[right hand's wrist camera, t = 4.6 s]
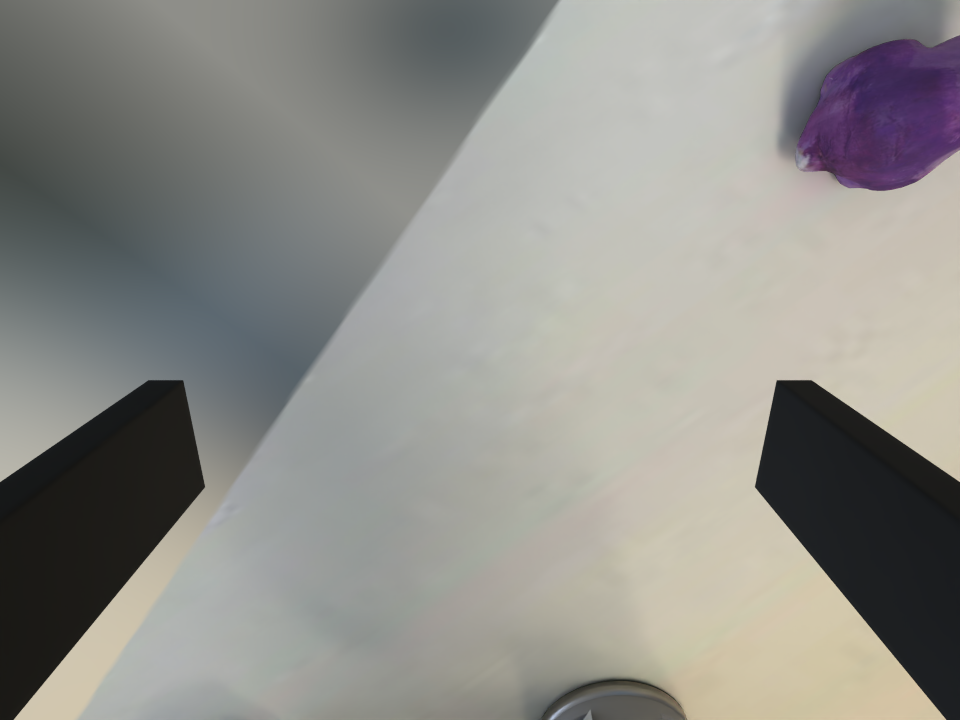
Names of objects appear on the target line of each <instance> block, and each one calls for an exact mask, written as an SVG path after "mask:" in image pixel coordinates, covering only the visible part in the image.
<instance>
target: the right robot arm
mask: <svg viewBox="0 0 960 720" xmlns="http://www.w3.org/2000/svg"><path fill="white" fill-rule="evenodd" d="M204 488H205V484H204V480H203V475H202V470H201V465H200V460H199V455H198V450H197V446H196V441H195V436H194V431H193V426H192V421H191V416H190V411H189V406H188V402H187V397H186V392H185V387H184V382H183V380H148V381H147V382H145V383H144V384H143V385H141V386H140V387H138V388H137V389H135V390H134V391H132V392H131V393H129V394H128V395H127V396H125V397H124V398H122V399H121V400H119V401H118V402H116V403H115V404H113V405H112V406H110V407H109V408H108V409H106V410H105V411H103V412H102V413H100V414H99V415H97V416H96V417H94V418H93V419H92V420H90V421H89V422H87V423H86V424H84V425H83V426H81V427H80V428H78V429H77V430H76V431H74V432H73V433H71V434H70V435H68V436H67V437H65V438H64V439H62V440H61V441H60V442H58V443H57V444H55V445H54V446H52V447H51V448H49V449H48V450H46V451H45V452H43V453H42V454H41V455H39V456H38V457H36V458H35V459H33V460H32V461H30V462H29V463H27V464H26V465H25V466H23V467H22V468H20V469H19V470H17V471H16V472H14V473H13V474H11V475H10V476H9V477H7V478H6V479H4V480H3V481H1V482H0V720H14V718H15V717H16V716H17V715H18V714H19V712H20V711H21V710H22V709H23V708H24V706H25V705H26V704H27V703H28V701H29V700H30V699H31V698H32V697H33V695H34V694H35V693H36V692H37V691H38V689H39V688H40V687H41V686H42V685H43V683H44V682H45V681H46V680H47V678H48V677H49V676H50V675H51V674H52V672H53V671H54V670H55V669H56V667H57V666H58V665H59V664H60V663H61V661H62V660H63V659H64V658H65V657H66V655H67V654H68V653H69V652H70V650H71V649H72V648H73V647H74V646H75V644H76V643H77V642H78V641H79V639H80V638H81V637H82V636H83V635H84V633H85V632H86V631H87V630H88V629H89V627H90V626H91V625H92V624H93V623H94V621H95V620H96V619H97V618H98V616H99V615H100V614H101V613H102V612H103V610H104V609H105V608H106V607H107V606H108V604H109V603H110V602H111V601H112V599H113V598H114V597H115V596H116V595H117V593H118V592H119V591H120V590H121V589H122V587H123V586H124V585H125V584H126V582H127V581H128V580H129V579H130V578H131V576H132V575H133V574H134V573H135V572H136V570H137V569H138V568H139V567H140V565H141V564H142V563H143V562H144V560H145V559H146V558H147V557H148V556H149V555H150V553H151V552H152V551H153V550H154V548H155V547H156V546H157V545H158V544H159V542H160V541H161V540H162V539H163V537H164V536H165V535H166V534H167V532H168V531H169V530H170V529H171V528H172V527H173V525H174V524H175V523H176V522H177V520H178V519H179V518H180V517H181V516H182V514H183V513H184V512H185V511H186V510H187V508H188V507H189V506H190V505H191V503H192V502H193V501H194V500H195V499H196V497H197V496H198V495H199V494H200V493H201V491H202V490H203V489H204ZM755 488H756V489H757V490H758V491H759V493H760V494H761V495H762V496H763V497H764V499H765V500H766V501H767V502H768V503H769V505H770V506H771V507H772V508H773V510H774V511H775V512H776V513H777V514H778V516H779V517H780V518H781V519H782V520H783V522H784V523H785V524H786V525H787V527H788V528H789V529H790V530H791V531H792V533H793V534H794V535H795V536H796V537H797V539H798V540H799V541H800V542H801V544H802V545H803V546H804V547H805V548H806V550H807V551H808V552H809V553H810V555H811V556H812V557H813V558H814V559H815V561H816V562H817V563H818V564H819V565H820V567H821V568H822V569H823V570H824V572H825V573H826V574H827V575H828V576H829V578H830V579H831V580H832V581H833V582H834V584H835V585H836V586H837V587H838V589H839V590H840V591H841V592H842V593H843V595H844V596H845V597H846V598H847V599H848V601H849V602H850V603H851V604H852V606H853V607H854V608H855V609H856V610H857V612H858V613H859V614H860V615H861V616H862V618H863V619H864V620H865V621H866V623H867V624H868V625H869V626H870V627H871V629H872V630H873V631H874V632H875V633H876V635H877V636H878V637H879V638H880V640H881V641H882V642H883V643H884V644H885V646H886V647H887V648H888V649H889V650H890V652H891V653H892V654H893V655H894V657H895V658H896V659H897V660H898V661H899V663H900V664H901V665H902V666H903V667H904V669H905V670H906V671H907V672H908V674H909V675H910V676H911V677H912V678H913V680H914V681H915V682H916V683H917V685H918V686H919V687H920V688H921V689H922V691H923V692H924V693H925V694H926V695H927V697H928V698H929V699H930V700H931V702H932V703H933V704H934V705H935V706H936V708H937V709H938V710H939V711H940V712H941V714H942V715H943V716H944V717H945V719H946V720H960V482H959V481H957V480H956V479H954V478H953V477H952V476H950V475H949V474H947V473H946V472H944V471H943V470H941V469H940V468H938V467H937V466H935V465H934V464H933V463H931V462H930V461H928V460H927V459H925V458H924V457H922V456H921V455H919V454H918V453H917V452H915V451H914V450H912V449H911V448H909V447H908V446H906V445H905V444H903V443H902V442H901V441H899V440H898V439H896V438H895V437H893V436H892V435H890V434H889V433H887V432H886V431H884V430H883V429H882V428H880V427H879V426H877V425H876V424H874V423H873V422H871V421H870V420H868V419H867V418H866V417H864V416H863V415H861V414H860V413H858V412H857V411H855V410H854V409H852V408H851V407H850V406H848V405H847V404H845V403H844V402H842V401H841V400H839V399H838V398H836V397H835V396H833V395H832V394H831V393H829V392H828V391H826V390H825V389H823V388H822V387H820V386H819V385H817V384H816V383H815V382H813V381H812V380H777V382H776V387H775V392H774V397H773V401H772V406H771V411H770V416H769V421H768V426H767V431H766V436H765V441H764V445H763V450H762V455H761V460H760V465H759V470H758V475H757V480H756V484H755ZM541 720H687V719H686V716H685V714H684V712H683V710H682V708H681V707H680V705H679V704H678V703H677V702H676V701H675V700H674V699H673V698H672V697H670V696H669V695H668V694H666V693H664V692H663V691H661V690H659V689H657V688H654V687H652V686H649V685H645V684H642V683H637V682H630V681H608V682H600V683H595V684H591V685H587V686H584V687H581V688H579V689H576V690H574V691H572V692H570V693H568V694H566V695H565V696H563V697H562V698H560V699H559V700H558V701H556V702H555V703H554V704H553V705H552V706H551V707H550V708H549V709H548V710H547V711H546V713H545V714H544V715H543V717H542V719H541Z"/></svg>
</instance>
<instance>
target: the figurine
mask: <svg viewBox="0 0 960 720" xmlns="http://www.w3.org/2000/svg"><path fill="white" fill-rule="evenodd" d="M959 150H960V36H957V37H954V38H952V39H950V40H947V41H945V42H943V43H941V44H939V45H937V46H935V47H933V48H927V47H925V46H924V45H922V44H921V43H920V42H918V41H917V40H913V39H903V40H895V41H890V42H887V43H883V44H880V45H877V46H875V47H872V48H870V49H868V50H866V51H863V52H862V53H860V54H858V55H856V56H854V57H851V58H849V59H847V60H845V61H843V62H842V63H840V64H838V65H836V66H835V67H834V68H833V69H832V70H831V71H830V72H829V73H828V74H827V75H826V78H825V80H824V83H823V85H822V88H821V97H820V99H819V102H818V104H817V107H816V108H815V110H814V111H813V113H812V114H811V116H810V118H809V120H808V122H807V124H806V127H805V129H804V131H803V133H802V135H801V137H800V139H799V141H798V144H797V147H796V165H797V167H798V169H799V170H801V171H804V172H813V171H828V172H831V173H834V174H835V175H836V178H837V179H838V181H839V182H840V184H842V185H844V186H846V187H848V188H866V189H869V190H876V191H886V190H892V189H897V188H901V187H904V186H907V185H909V184H912V183H915V182H917V181H918V180H920V179H921V178H923V177H924V176H925V175H927V174H928V173H930V172H931V171H932V170H933V169H935V168H936V167H937V166H938V165H939V164H941V163H942V162H943V161H944V160H946V159H947V158H948V157H950V156H951V155H953V154H954V153H956V152H957V151H959Z"/></svg>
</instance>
